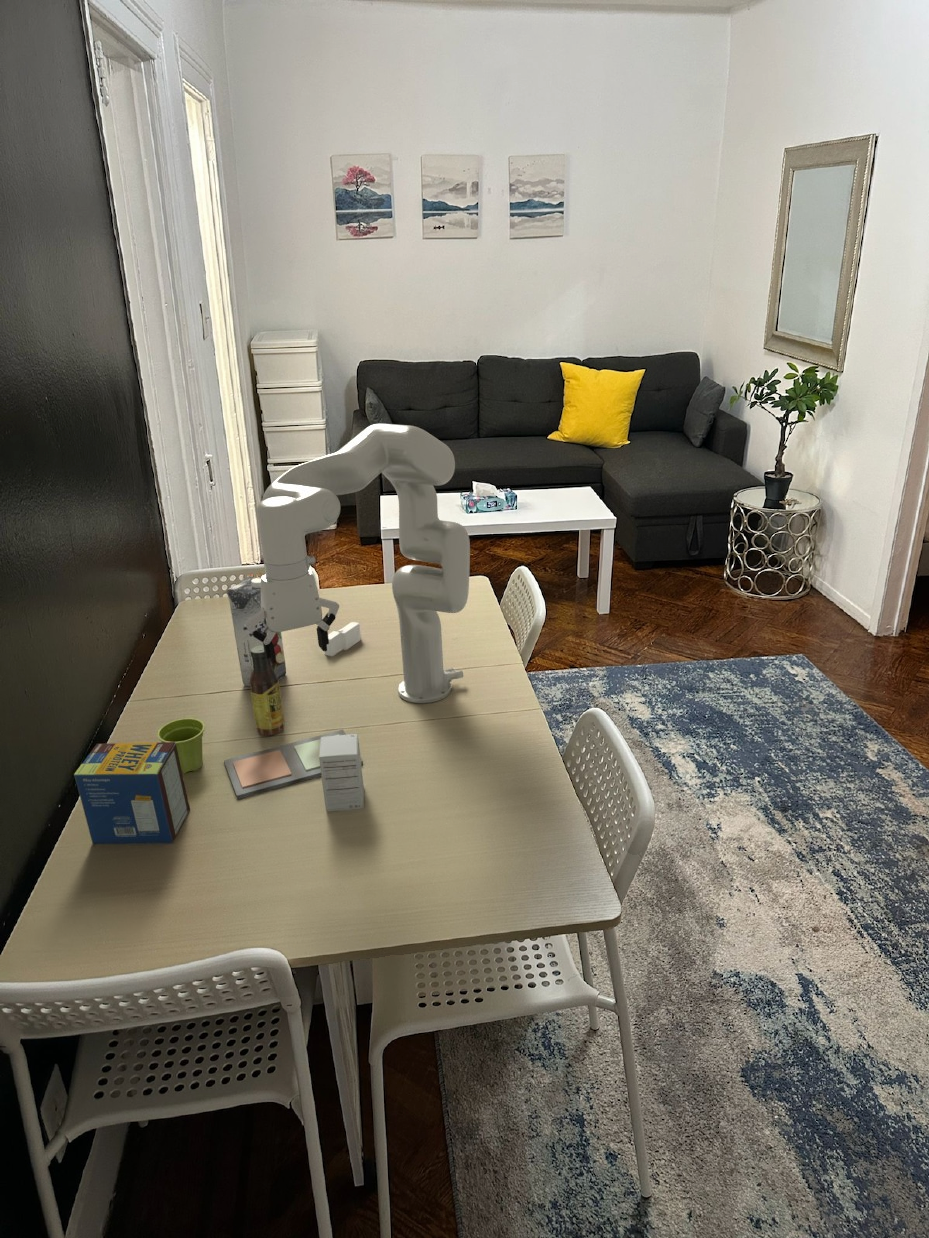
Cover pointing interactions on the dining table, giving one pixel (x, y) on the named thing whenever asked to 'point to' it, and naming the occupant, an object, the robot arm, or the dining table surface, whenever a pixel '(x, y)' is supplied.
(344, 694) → the dining table surface
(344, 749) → the supplement box
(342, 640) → the napkin holder
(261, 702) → the sauce bottle
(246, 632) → the juice carton
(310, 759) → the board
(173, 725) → the plant pot
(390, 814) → the dining table surface
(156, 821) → the protein box
